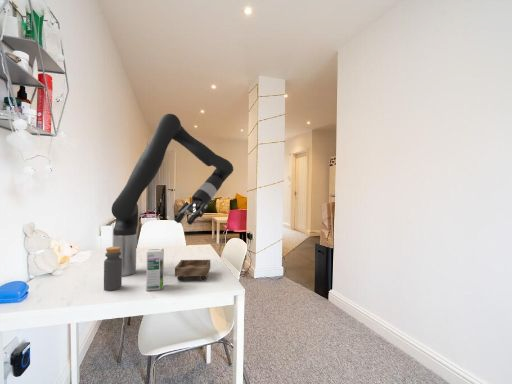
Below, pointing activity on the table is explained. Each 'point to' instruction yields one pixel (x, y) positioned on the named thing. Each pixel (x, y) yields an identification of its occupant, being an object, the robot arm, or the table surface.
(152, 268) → the syrup box
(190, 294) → the table surface
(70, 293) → the table surface
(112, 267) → the bottle
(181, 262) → the wooden toy cart
